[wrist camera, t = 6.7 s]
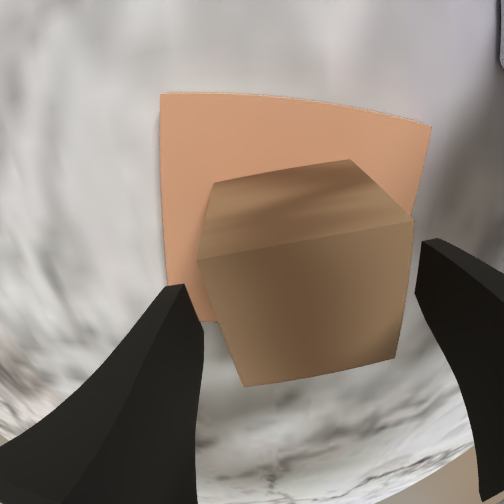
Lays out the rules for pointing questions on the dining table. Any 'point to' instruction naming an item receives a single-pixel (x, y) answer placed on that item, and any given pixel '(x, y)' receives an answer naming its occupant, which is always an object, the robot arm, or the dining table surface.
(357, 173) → the walnut cube
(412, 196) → the terracotta tile
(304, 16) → the dining table surface
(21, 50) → the dining table surface
